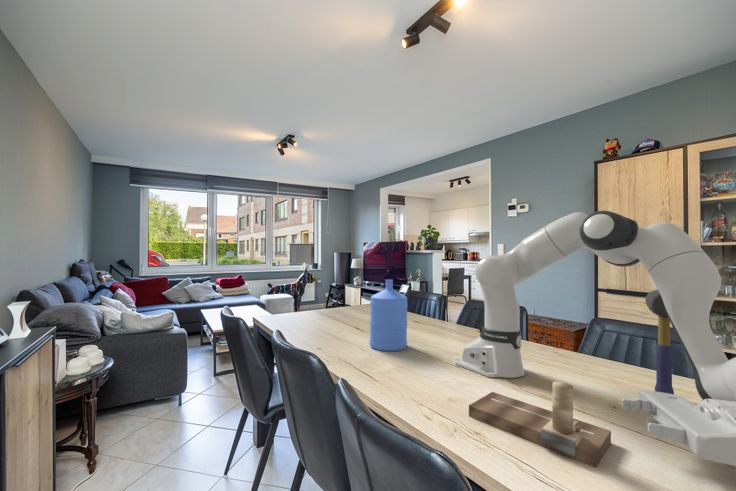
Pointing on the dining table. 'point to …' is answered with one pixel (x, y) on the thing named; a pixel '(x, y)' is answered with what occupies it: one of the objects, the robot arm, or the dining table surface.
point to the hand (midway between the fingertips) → (634, 414)
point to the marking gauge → (562, 421)
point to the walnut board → (538, 425)
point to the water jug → (388, 319)
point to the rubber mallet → (662, 344)
